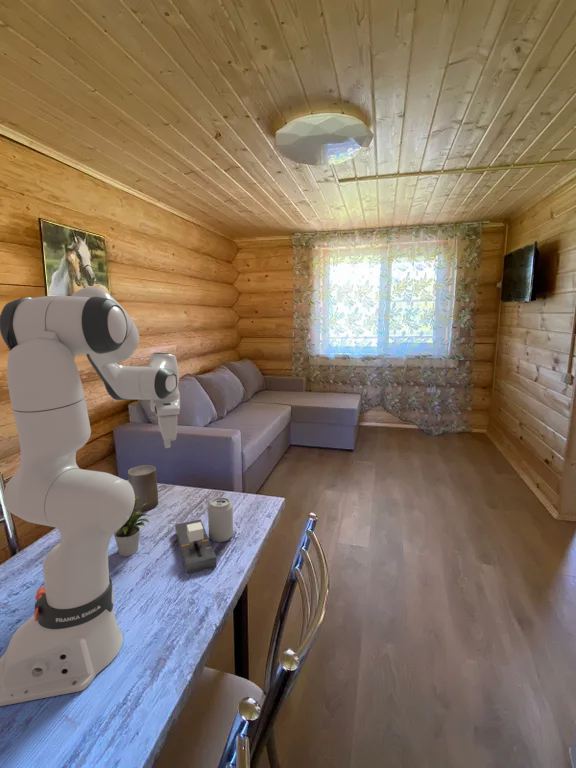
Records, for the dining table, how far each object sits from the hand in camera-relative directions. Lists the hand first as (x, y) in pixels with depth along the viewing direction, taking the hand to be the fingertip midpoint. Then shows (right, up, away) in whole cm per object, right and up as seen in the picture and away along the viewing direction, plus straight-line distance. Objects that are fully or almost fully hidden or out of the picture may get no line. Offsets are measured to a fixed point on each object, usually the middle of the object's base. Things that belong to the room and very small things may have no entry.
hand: (167, 446), depth 122 cm
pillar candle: (-14, -25, +18) cm, 34 cm away
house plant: (-9, -30, -11) cm, 33 cm away
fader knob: (+12, -26, -11) cm, 31 cm away
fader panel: (+11, -29, -9) cm, 32 cm away
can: (+18, -28, -2) cm, 33 cm away
